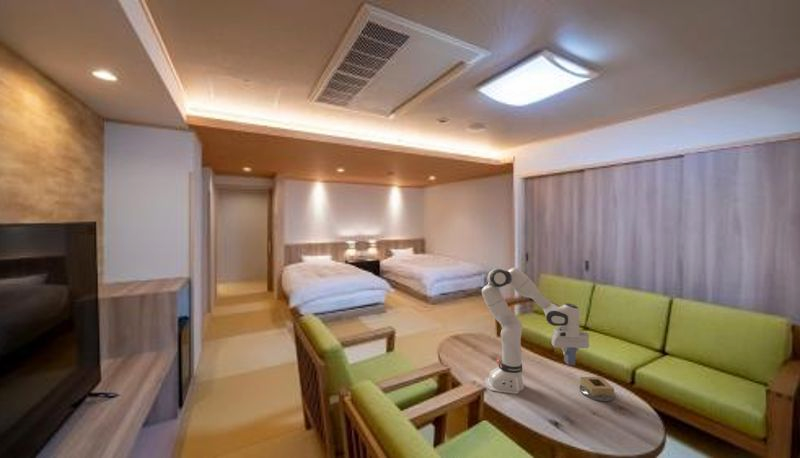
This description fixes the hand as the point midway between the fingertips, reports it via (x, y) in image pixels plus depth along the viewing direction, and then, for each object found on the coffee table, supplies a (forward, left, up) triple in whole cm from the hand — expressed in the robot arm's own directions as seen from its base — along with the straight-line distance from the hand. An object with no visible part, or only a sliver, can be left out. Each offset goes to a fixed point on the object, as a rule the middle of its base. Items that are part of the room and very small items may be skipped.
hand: (569, 354), depth 183 cm
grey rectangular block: (0, 0, -5) cm, 5 cm away
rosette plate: (+13, -5, -21) cm, 25 cm away
